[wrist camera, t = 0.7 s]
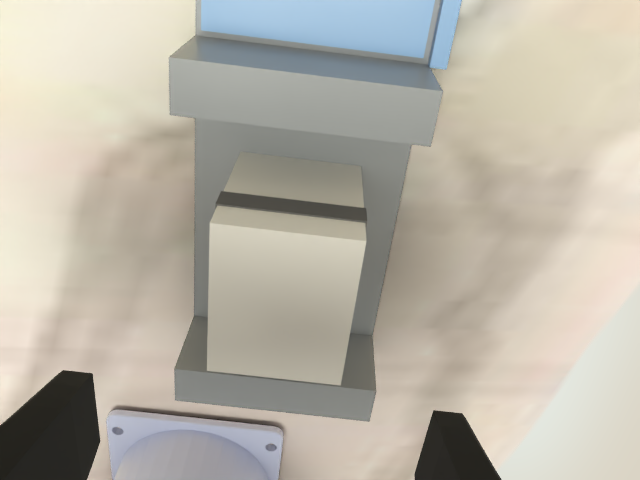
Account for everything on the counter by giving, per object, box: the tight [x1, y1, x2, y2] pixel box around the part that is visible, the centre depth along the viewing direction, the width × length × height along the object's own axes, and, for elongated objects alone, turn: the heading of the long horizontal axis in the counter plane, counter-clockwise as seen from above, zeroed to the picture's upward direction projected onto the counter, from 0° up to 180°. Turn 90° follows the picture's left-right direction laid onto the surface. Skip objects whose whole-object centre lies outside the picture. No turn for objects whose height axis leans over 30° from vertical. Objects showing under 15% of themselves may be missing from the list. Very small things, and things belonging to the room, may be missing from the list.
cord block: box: [207, 152, 367, 385], centre depth 18 cm, size 5×4×5 cm
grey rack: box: [169, 0, 462, 421], centre depth 16 cm, size 22×8×4 cm, turn 173°
